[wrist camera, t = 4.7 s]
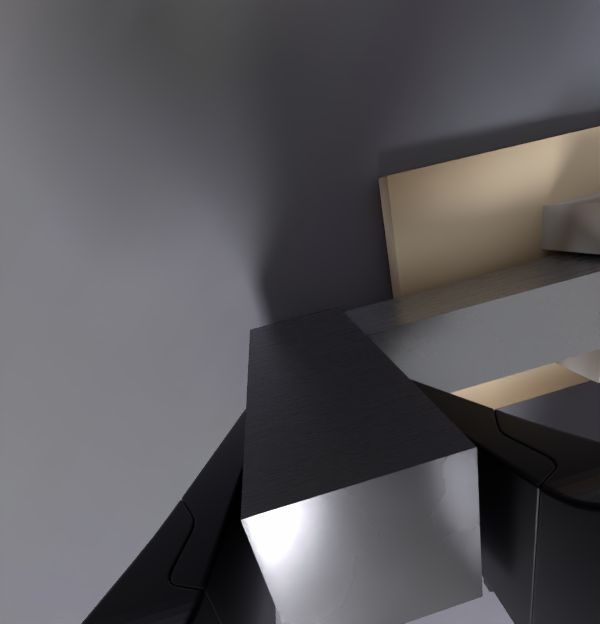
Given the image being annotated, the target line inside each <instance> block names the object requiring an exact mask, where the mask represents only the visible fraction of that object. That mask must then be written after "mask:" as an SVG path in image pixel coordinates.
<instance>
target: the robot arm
mask: <svg viewBox="0 0 600 624" xmlns="http://www.w3.org/2000/svg"><path fill="white" fill-rule="evenodd" d="M410 380H411V381H412V382H413V383H414V384H415V385H416V386H417V387H418V388H419V389H420V390H421V391H422V392H423V393H424V394H425V395H426V396H427V397H428V398H429V399H430V400H431V401H432V402H433V403H434V404H435V405H436V406H437V407H438V408H439V409H440V410H441V411H442V412H443V413H444V414H445V415H446V416H447V417H448V418H449V419H450V420H451V421H452V422H453V423H454V424H455V425H456V426H457V427H458V428H459V429H460V430H461V431H462V432H463V434H464V435H465V436H466V437H467V438H468V439H469V440H470V441H471V442H472V443H473V444H474V445H475V446H476V447H477V463H478V490H479V516H480V543H481V569H482V574H483V576H484V584H485V585H486V587H487V588H488V590H489V591H491V592H493V591H494V593H495V594H496V596H497V597H498V599H499V600H500V602H501V604H502V605H503V607H504V608H505V610H506V611H507V613H508V614H509V616H510V617H511V619H512V621H513V622H514V624H600V442H597V441H594V440H590V439H587V438H583V437H580V436H576V435H573V434H569V433H566V432H563V431H559V430H556V429H553V428H549V427H546V426H543V425H540V424H536V423H533V422H530V421H527V420H524V419H521V418H518V417H516V416H513V415H510V414H507V413H504V412H501V411H499V410H495V411H494V409H493V408H490V407H487V406H484V405H482V404H479V403H476V402H473V401H470V400H468V399H465V398H462V397H459V396H456V395H454V394H451V393H448V392H445V391H442V390H440V389H437V388H434V387H431V386H428V385H426V384H423V383H420V382H417V381H414V380H412V379H410ZM245 423H246V409H245V411H244V412H243V413H242V415H241V416H240V418H239V419H238V420H237V422H236V423H235V425H234V426H233V427H232V429H231V430H230V432H229V433H228V434H227V436H226V437H225V439H224V440H223V441H222V443H221V444H220V446H219V447H218V448H217V450H216V451H215V453H214V454H213V455H212V457H211V458H210V460H209V461H208V462H207V464H206V465H205V466H204V468H203V469H202V471H201V472H200V473H199V475H198V476H197V478H196V479H195V480H194V482H193V483H192V485H191V486H190V487H189V489H188V490H187V492H186V493H185V494H184V496H183V497H182V500H180V501H179V503H178V504H177V505H176V507H175V508H174V510H173V511H172V512H171V514H170V515H169V516H168V518H167V519H166V520H165V522H164V523H163V524H162V526H161V527H160V528H159V530H158V531H157V532H156V534H155V535H154V536H153V538H152V539H151V540H150V541H149V543H148V544H147V545H146V546H145V548H144V549H143V550H142V551H141V553H140V554H139V555H138V556H137V558H136V559H135V560H134V561H133V562H132V564H131V565H130V566H129V567H128V568H127V570H126V571H125V572H124V573H123V574H122V576H121V577H120V578H119V579H118V580H117V582H116V583H115V584H114V585H113V586H112V588H111V589H110V590H109V591H108V592H107V594H106V595H105V596H104V597H103V598H102V600H101V601H100V602H99V603H98V604H97V606H96V607H95V608H94V609H93V610H92V612H91V613H90V614H89V615H88V616H87V618H86V619H85V620H84V621H83V622H82V624H276V618H275V604H274V601H273V599H272V596H271V594H270V591H269V589H268V587H267V584H266V582H265V579H264V577H263V574H262V572H261V569H260V567H259V564H258V562H257V559H256V557H255V554H254V552H253V549H252V547H251V544H250V542H249V539H248V537H247V535H246V532H245V530H244V527H243V525H242V522H241V502H242V482H243V462H244V443H245Z"/></svg>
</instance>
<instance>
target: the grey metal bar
mask: <svg viewBox="0 0 600 624" xmlns="http://www.w3.org/2000/svg"><path fill="white" fill-rule="evenodd" d="M599 349H600V254H590V253H579V252H567V253H563V254H560V255H556V256H552V257H548V258H545V259H541V260H537V261H533V262H529V263H526V264H522V265H518V266H514V267H511V268H507V269H503V270H499V271H495V272H492V273H488V274H484V275H480V276H476V277H473V278H469V279H465V280H461V281H458V282H454V283H450V284H446V285H442V286H439V287H435V288H431V289H427V290H424V291H420V292H416V293H412V294H408V295H405V296H401V297H397V298H393V299H389V300H386V301H382V302H378V303H374V304H371V305H367V306H363V307H359V308H355V309H352V310H348V311H344V312H343V311H342V310H341V309H340V308H339V307H336V308H332V309H328V310H324V311H320V312H317V313H313V314H309V315H305V316H301V317H298V318H294V319H290V320H286V321H282V322H278V323H275V324H271V325H267V326H263V327H259V328H256V329H252V330H250V344H249V364H248V384H247V403H246V423H245V443H244V462H243V482H242V502H241V522H242V525H243V527H244V530H245V532H246V535H247V537H248V539H249V542H250V544H251V547H252V549H253V552H254V554H255V557H256V559H257V562H258V564H259V567H260V569H261V572H262V574H263V577H264V579H265V582H266V584H267V587H268V589H269V591H270V594H271V596H272V599H273V601H274V604H275V606H276V609H277V611H278V614H279V616H280V619H281V621H282V624H404V623H407V622H410V621H413V620H416V619H419V618H421V617H424V616H427V615H430V614H433V613H436V612H439V611H442V610H445V609H447V608H450V607H453V606H456V605H459V604H462V603H465V602H468V601H471V600H473V599H476V598H479V597H482V569H481V543H480V516H479V490H478V463H477V447H476V446H475V445H474V444H473V443H472V442H471V441H470V440H469V439H468V438H467V437H466V436H465V435H464V434H463V432H462V431H461V430H460V429H459V428H458V427H457V426H456V425H455V424H454V423H453V422H452V421H451V420H450V419H449V418H448V417H447V416H446V415H445V414H444V413H443V412H442V411H441V410H440V409H439V408H438V407H437V406H436V405H435V404H434V403H433V402H432V401H431V400H430V399H429V398H428V397H427V396H426V395H425V394H424V393H423V392H422V391H421V390H420V389H419V388H418V387H417V386H416V385H415V384H414V383H413V382H412V381H411V380H410V379H412V380H414V381H417V382H420V383H423V384H426V385H428V386H431V387H434V388H437V389H440V390H442V391H445V392H448V393H452V392H456V391H459V390H462V389H466V388H469V387H473V386H476V385H480V384H483V383H486V382H490V381H493V380H497V379H500V378H504V377H507V376H510V375H514V374H517V373H521V372H524V371H527V370H531V369H534V368H538V367H541V366H545V365H548V364H551V363H555V362H558V361H562V360H565V359H569V358H572V357H575V356H579V355H582V354H586V353H589V352H593V351H596V350H599Z"/></svg>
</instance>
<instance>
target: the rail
mask: <svg viewBox="0 0 600 624" xmlns="http://www.w3.org/2000/svg"><path fill="white" fill-rule="evenodd" d="M378 180H379V188H380V196H381V204H382V212H383V220H384V228H385V235H386V243H387V251H388V259H389V267H390V275H391V283H392V291H393V298H397V297H401V296H405V295H408V294H412V293H416V292H420V291H424V290H427V289H431V288H435V287H439V286H442V285H446V284H450V283H454V282H458V281H461V280H465V279H469V278H473V277H476V276H480V275H484V274H488V273H492V272H495V271H499V270H503V269H507V268H511V267H514V266H518V265H522V264H526V263H529V262H533V261H537V260H541V259H545V258H548V257H552V256H556V255H560V254H563V253H567V252H579V253H590V254H600V126H598V127H594V128H589V129H585V130H581V131H577V132H572V133H568V134H564V135H559V136H555V137H551V138H547V139H542V140H538V141H534V142H529V143H525V144H521V145H517V146H512V147H508V148H504V149H499V150H495V151H491V152H487V153H482V154H478V155H474V156H469V157H465V158H461V159H457V160H452V161H448V162H444V163H439V164H435V165H431V166H427V167H422V168H418V169H414V170H409V171H405V172H401V173H397V174H392V175H388V176H385V177H382V178H379V179H378ZM591 380H593V381H595V382H597V383H600V349H599V350H596V351H593V352H589V353H586V354H582V355H579V356H575V357H572V358H569V359H565V360H562V361H558V362H555V363H551V364H548V365H545V366H541V367H538V368H534V369H531V370H527V371H524V372H521V373H517V374H514V375H510V376H507V377H504V378H500V379H497V380H493V381H490V382H486V383H483V384H480V385H476V386H473V387H469V388H466V389H462V390H459V391H456V392H452V393H451V394H454V395H456V396H459V397H462V398H465V399H468V400H470V401H473V402H476V403H479V404H482V405H484V406H487V407H490V408H493V409H497V408H501V407H504V406H508V405H511V404H514V403H518V402H521V401H524V400H528V399H531V398H534V397H538V396H541V395H544V394H548V393H551V392H554V391H558V390H561V389H564V388H568V387H571V386H574V385H578V384H581V383H584V382H588V381H591Z"/></svg>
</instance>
